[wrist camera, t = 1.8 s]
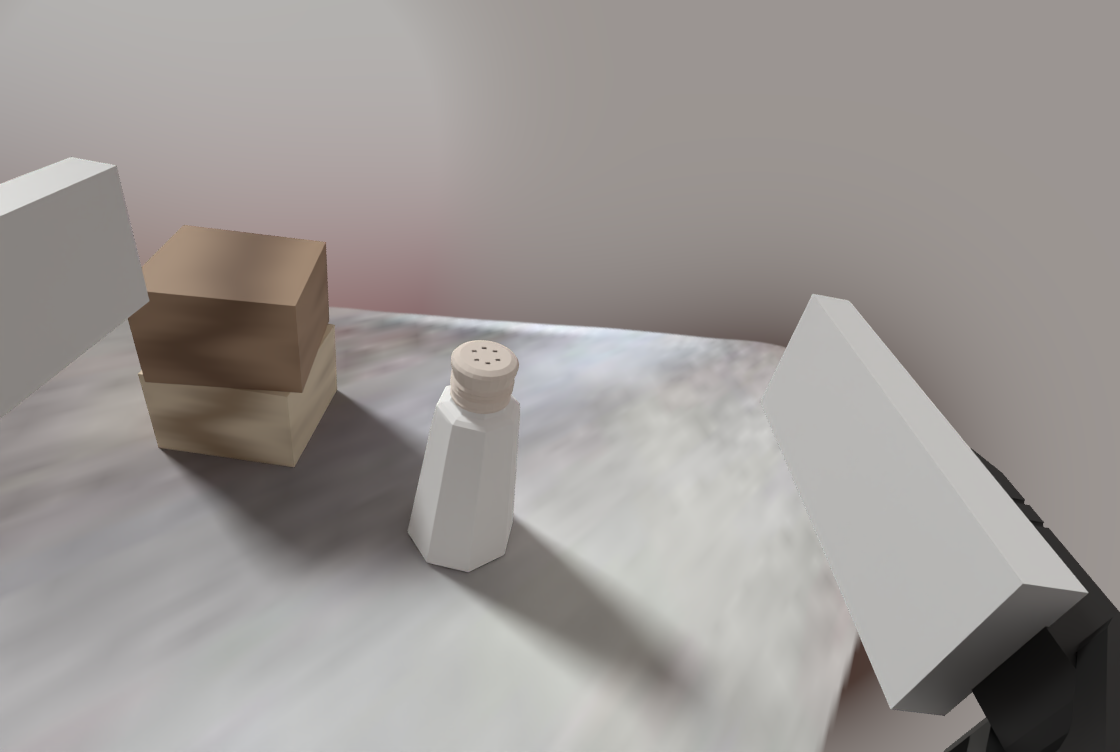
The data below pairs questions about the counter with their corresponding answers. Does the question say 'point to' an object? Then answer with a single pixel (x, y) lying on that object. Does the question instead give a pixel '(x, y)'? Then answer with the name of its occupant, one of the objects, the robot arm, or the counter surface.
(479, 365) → the salt shaker
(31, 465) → the counter surface
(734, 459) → the counter surface
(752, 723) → the counter surface
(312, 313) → the tower top
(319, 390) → the tower bottom
